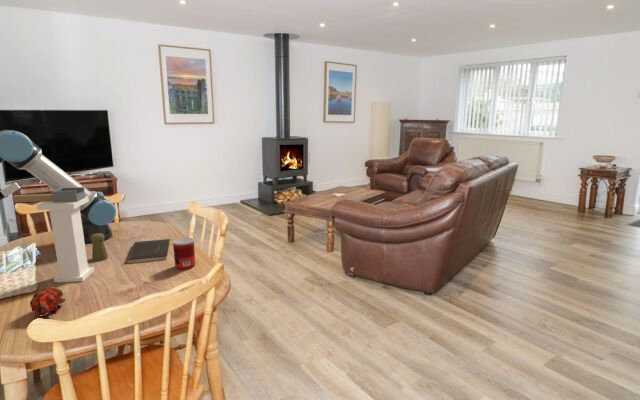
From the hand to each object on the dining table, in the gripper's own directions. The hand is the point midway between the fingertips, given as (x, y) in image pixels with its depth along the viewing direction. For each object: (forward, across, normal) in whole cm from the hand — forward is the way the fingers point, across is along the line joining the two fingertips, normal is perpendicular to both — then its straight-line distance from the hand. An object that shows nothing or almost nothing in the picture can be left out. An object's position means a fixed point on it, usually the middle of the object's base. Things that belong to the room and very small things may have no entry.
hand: (6, 188), depth 144 cm
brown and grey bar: (+12, +4, -11) cm, 17 cm away
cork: (+3, -15, -41) cm, 44 cm away
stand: (+2, +4, -40) cm, 40 cm away
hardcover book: (+20, -20, -51) cm, 58 cm away
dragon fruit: (+6, +32, -43) cm, 54 cm away
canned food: (+36, -1, -60) cm, 70 cm away
